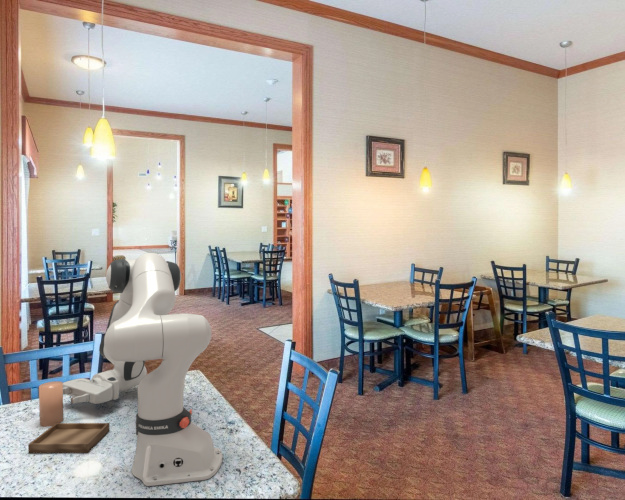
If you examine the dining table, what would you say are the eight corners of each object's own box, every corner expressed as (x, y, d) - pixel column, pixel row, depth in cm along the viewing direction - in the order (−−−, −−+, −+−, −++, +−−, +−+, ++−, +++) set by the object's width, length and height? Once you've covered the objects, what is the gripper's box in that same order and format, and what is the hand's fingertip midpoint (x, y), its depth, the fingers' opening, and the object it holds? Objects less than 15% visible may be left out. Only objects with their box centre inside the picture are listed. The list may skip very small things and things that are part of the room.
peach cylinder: (67, 417, 140) (66, 381, 139) (56, 426, 133) (55, 388, 133) (47, 417, 139) (46, 381, 139) (35, 426, 133) (34, 388, 133)
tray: (109, 431, 130) (109, 423, 130) (88, 453, 117) (87, 444, 117) (55, 431, 130) (55, 423, 130) (28, 453, 117) (28, 444, 117)
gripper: (84, 371, 156) (45, 382, 144) (121, 381, 146) (81, 394, 134) (85, 388, 157) (45, 401, 145) (121, 399, 146) (82, 414, 134)
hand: (63, 398), depth 139 cm, fingers open, 8 cm apart
